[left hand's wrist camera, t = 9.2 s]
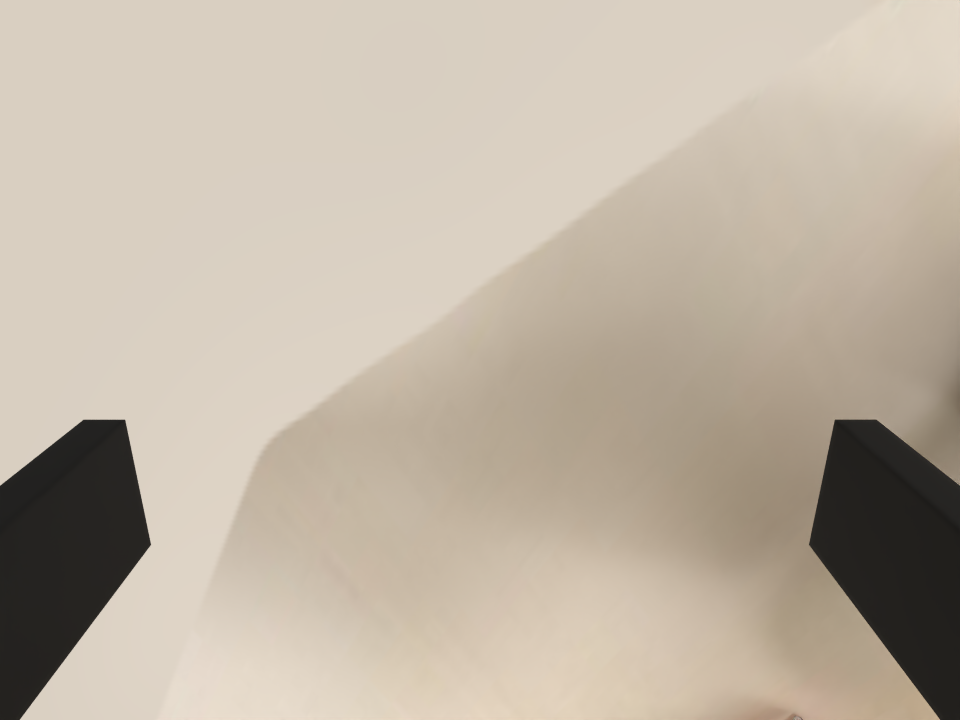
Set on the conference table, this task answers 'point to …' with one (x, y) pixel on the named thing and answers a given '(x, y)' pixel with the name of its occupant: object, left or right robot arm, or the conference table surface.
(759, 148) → the conference table surface
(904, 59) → the conference table surface
